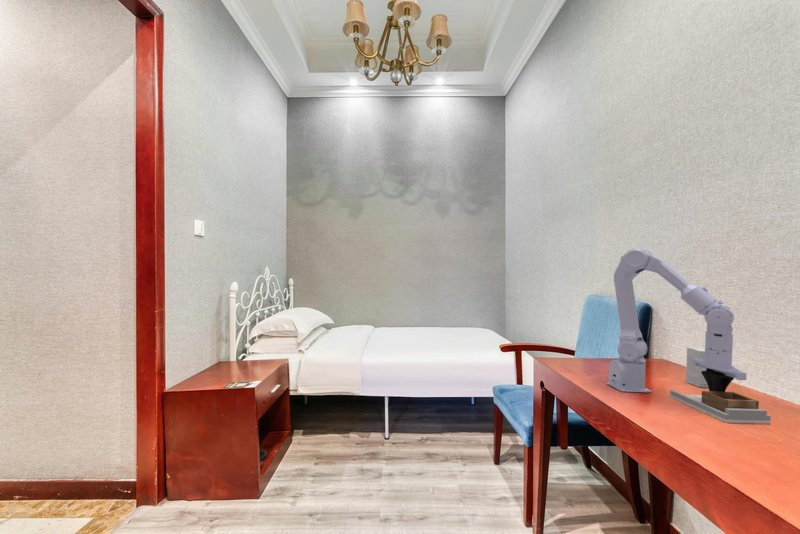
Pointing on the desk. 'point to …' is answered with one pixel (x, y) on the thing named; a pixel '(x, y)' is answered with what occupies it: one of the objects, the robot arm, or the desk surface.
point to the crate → (728, 400)
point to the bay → (730, 413)
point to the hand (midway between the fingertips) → (716, 398)
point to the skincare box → (695, 367)
